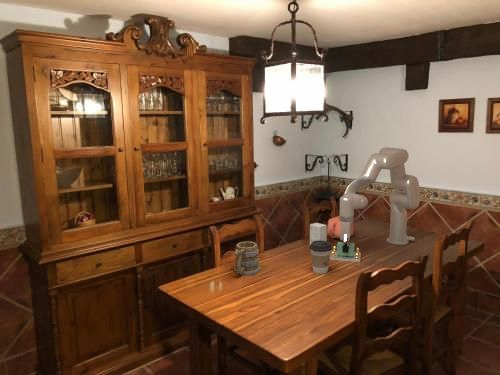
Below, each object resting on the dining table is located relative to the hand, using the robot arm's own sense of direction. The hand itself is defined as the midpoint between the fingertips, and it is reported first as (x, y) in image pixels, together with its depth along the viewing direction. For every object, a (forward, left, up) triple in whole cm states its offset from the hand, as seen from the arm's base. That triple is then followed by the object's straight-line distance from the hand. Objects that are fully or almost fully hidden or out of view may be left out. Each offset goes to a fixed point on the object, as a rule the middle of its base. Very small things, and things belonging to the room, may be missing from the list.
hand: (345, 250), depth 231 cm
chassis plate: (0, 0, -4) cm, 4 cm away
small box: (+17, -16, -4) cm, 24 cm away
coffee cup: (+11, +24, -4) cm, 27 cm away
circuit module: (0, 0, -2) cm, 2 cm away
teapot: (+5, -35, -4) cm, 36 cm away
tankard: (+48, +35, -4) cm, 60 cm away
